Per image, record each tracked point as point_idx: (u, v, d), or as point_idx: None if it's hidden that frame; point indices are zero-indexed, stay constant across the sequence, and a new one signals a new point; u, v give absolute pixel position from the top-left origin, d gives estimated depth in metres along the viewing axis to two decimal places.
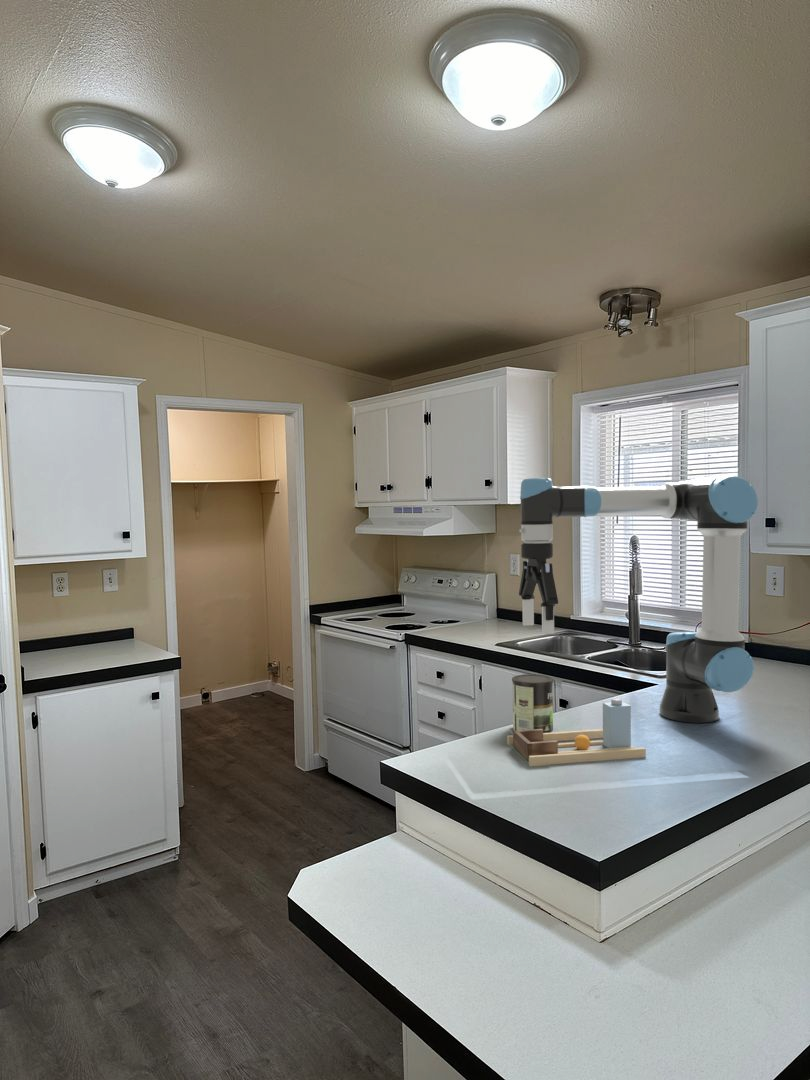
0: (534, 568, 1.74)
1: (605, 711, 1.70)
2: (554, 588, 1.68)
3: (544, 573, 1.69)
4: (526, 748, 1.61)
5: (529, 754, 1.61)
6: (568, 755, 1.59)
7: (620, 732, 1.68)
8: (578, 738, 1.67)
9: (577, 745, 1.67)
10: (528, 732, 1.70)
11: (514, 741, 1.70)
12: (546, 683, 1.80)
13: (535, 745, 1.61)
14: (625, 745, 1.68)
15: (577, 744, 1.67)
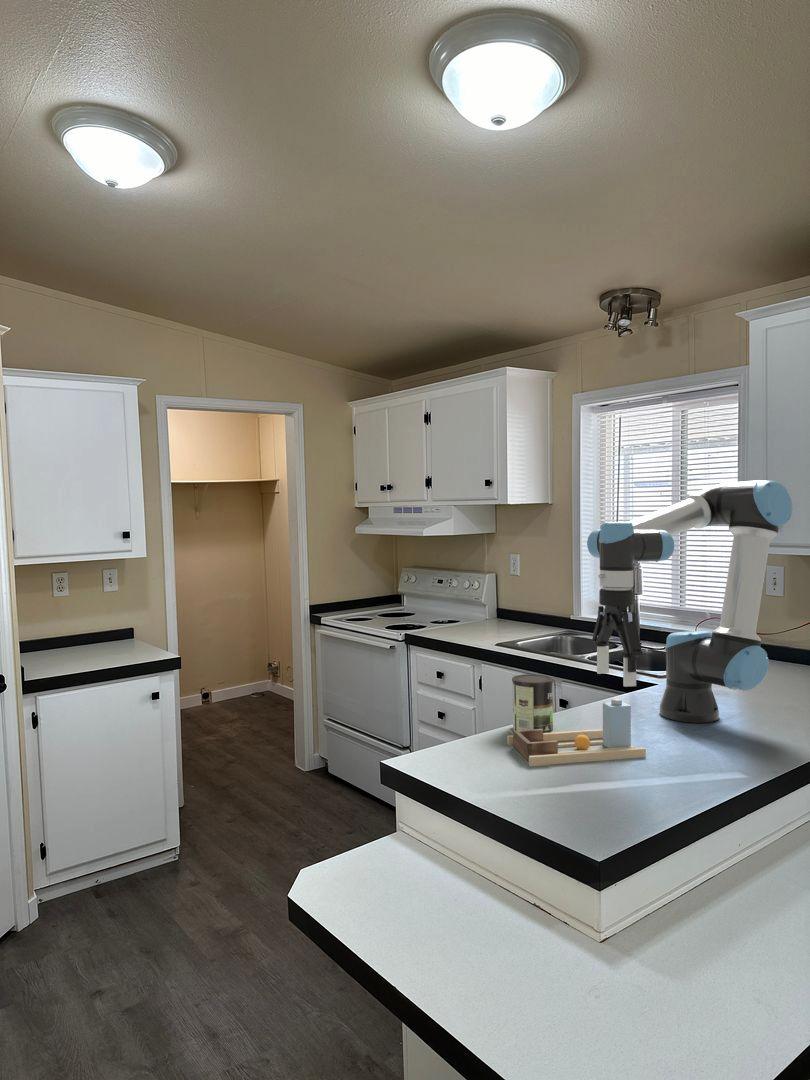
0: (614, 616, 1.66)
1: (605, 711, 1.70)
2: (638, 639, 1.60)
3: (627, 623, 1.62)
4: (526, 748, 1.61)
5: (529, 754, 1.61)
6: (568, 755, 1.59)
7: (620, 732, 1.68)
8: (578, 738, 1.67)
9: (577, 745, 1.67)
10: (528, 732, 1.70)
11: (514, 741, 1.70)
12: (546, 683, 1.80)
13: (535, 745, 1.61)
14: (625, 745, 1.68)
15: (577, 744, 1.67)
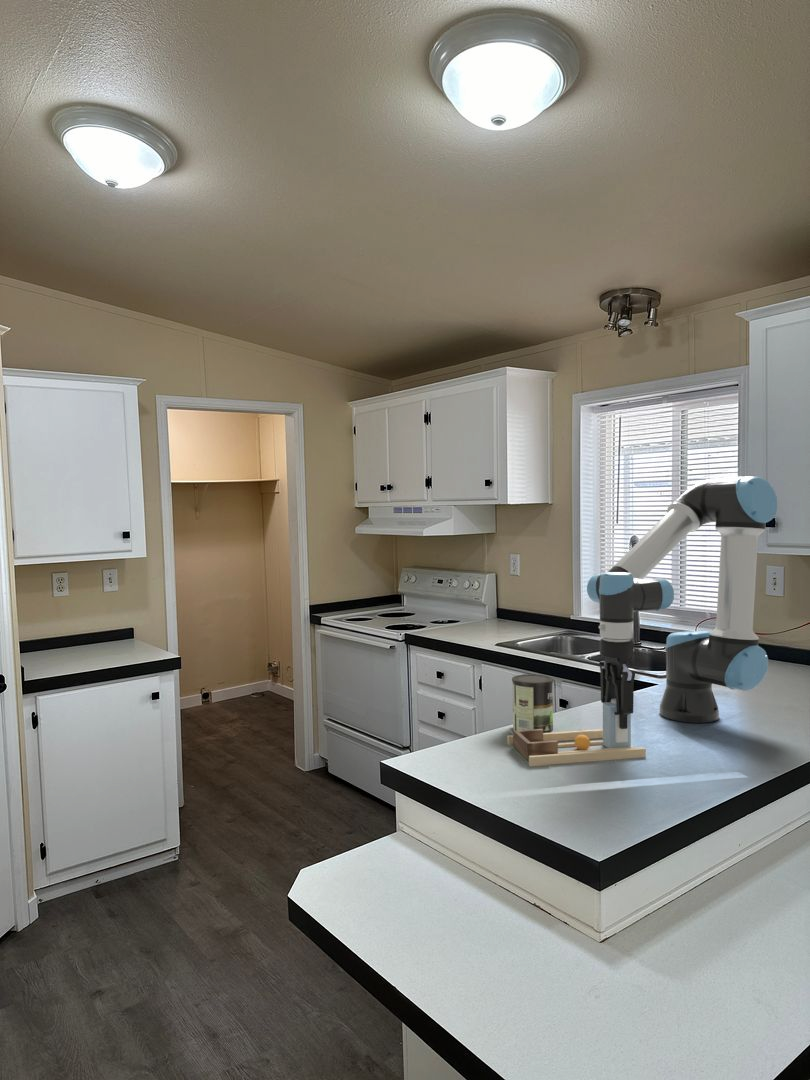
0: (614, 668, 1.67)
1: (605, 711, 1.70)
2: (632, 698, 1.64)
3: (625, 682, 1.63)
4: (526, 748, 1.61)
5: (529, 754, 1.61)
6: (568, 755, 1.59)
7: None
8: (578, 738, 1.67)
9: (577, 745, 1.67)
10: (528, 732, 1.70)
11: (514, 741, 1.70)
12: (546, 683, 1.80)
13: (535, 745, 1.61)
14: (625, 745, 1.68)
15: (577, 744, 1.67)
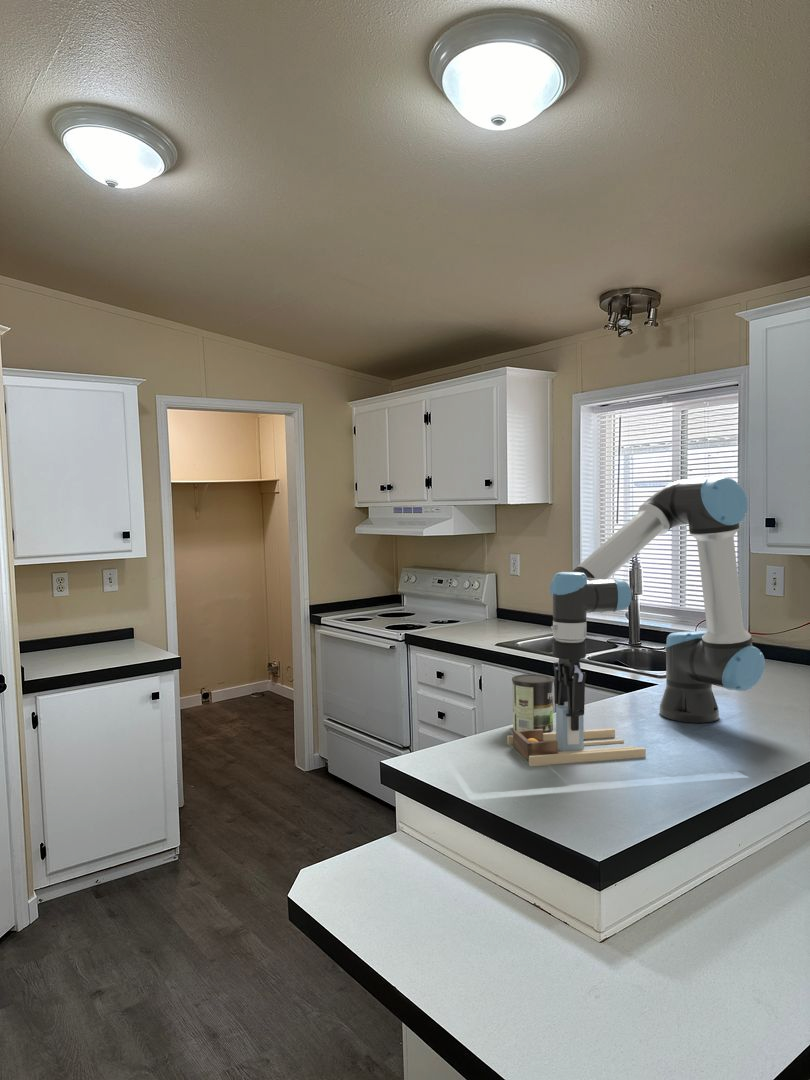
0: (566, 669, 1.65)
1: (558, 714, 1.68)
2: (583, 700, 1.62)
3: (576, 683, 1.61)
4: (526, 748, 1.61)
5: (529, 754, 1.61)
6: (568, 755, 1.59)
7: None
8: (532, 739, 1.65)
9: None
10: (528, 732, 1.70)
11: (514, 741, 1.70)
12: (546, 683, 1.80)
13: (535, 745, 1.61)
14: (578, 748, 1.66)
15: None
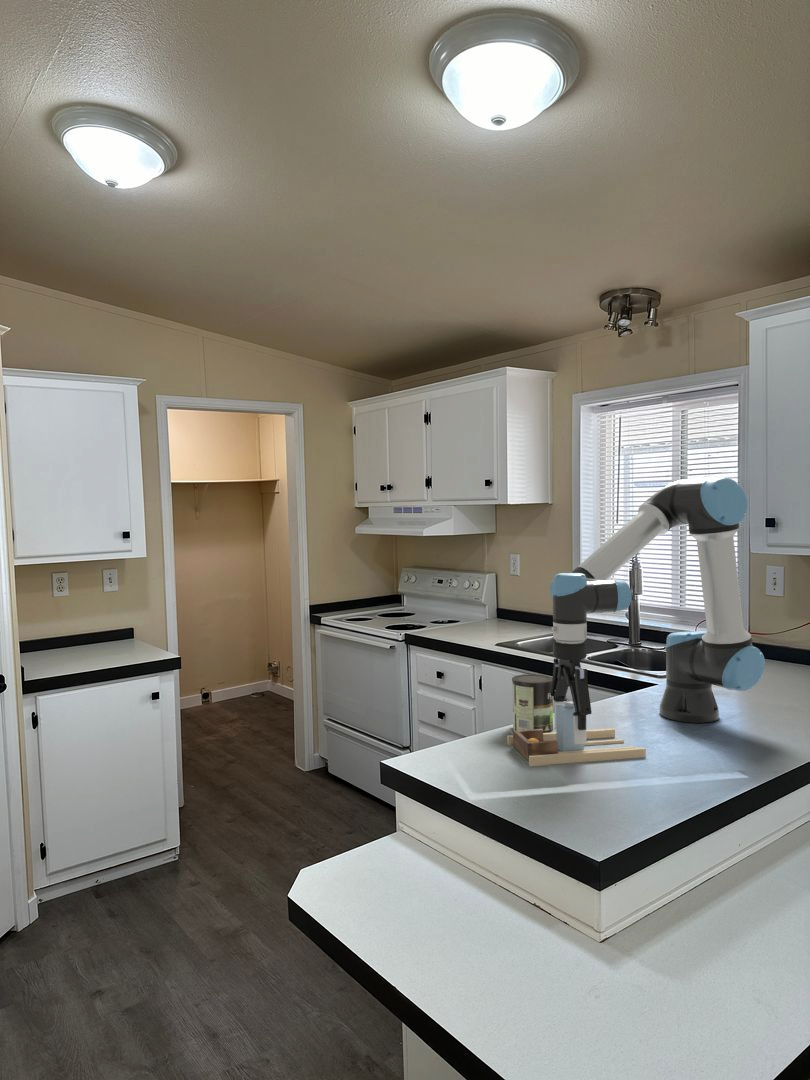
0: (567, 669, 1.65)
1: (558, 714, 1.68)
2: (588, 697, 1.59)
3: (578, 680, 1.60)
4: (526, 748, 1.61)
5: (529, 754, 1.61)
6: (568, 755, 1.59)
7: (573, 735, 1.66)
8: (534, 739, 1.65)
9: None
10: (528, 732, 1.70)
11: (514, 741, 1.70)
12: (546, 683, 1.80)
13: (535, 745, 1.61)
14: (578, 748, 1.66)
15: None
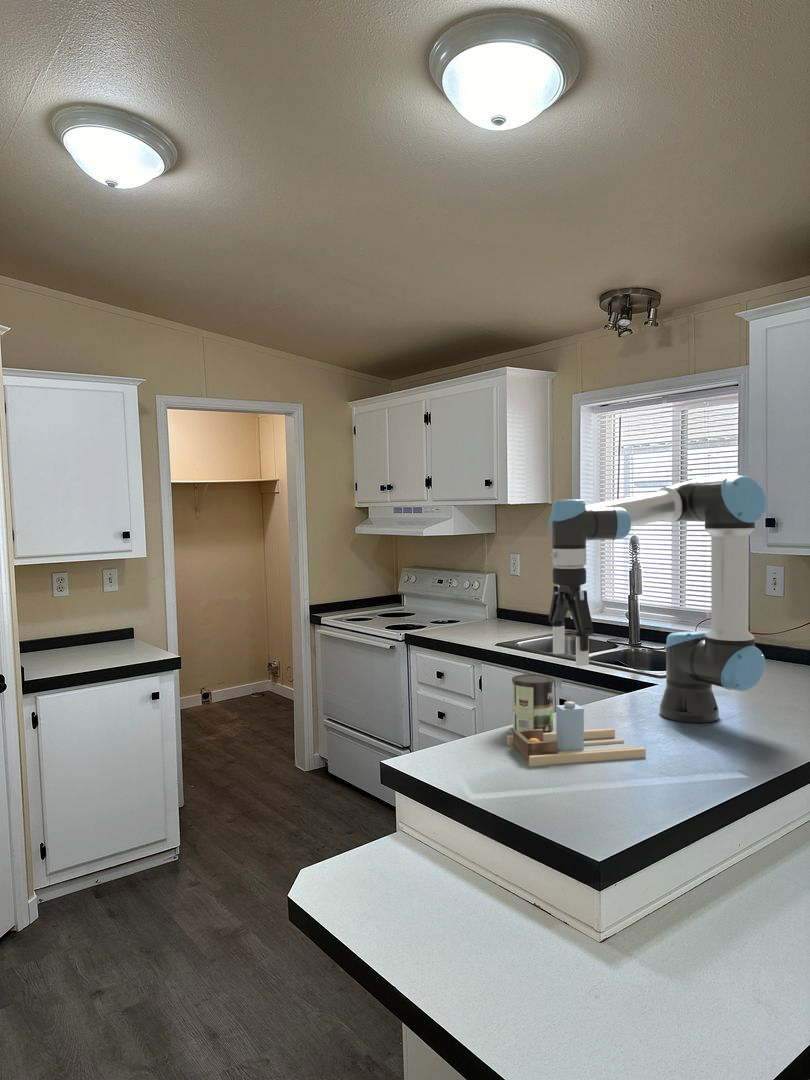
0: (567, 595, 1.64)
1: (558, 714, 1.68)
2: (589, 617, 1.58)
3: (578, 601, 1.59)
4: (526, 748, 1.61)
5: (529, 754, 1.61)
6: (568, 755, 1.59)
7: (573, 735, 1.66)
8: (536, 739, 1.66)
9: None
10: (528, 732, 1.70)
11: (514, 741, 1.70)
12: (546, 683, 1.80)
13: (535, 745, 1.61)
14: (578, 748, 1.66)
15: None
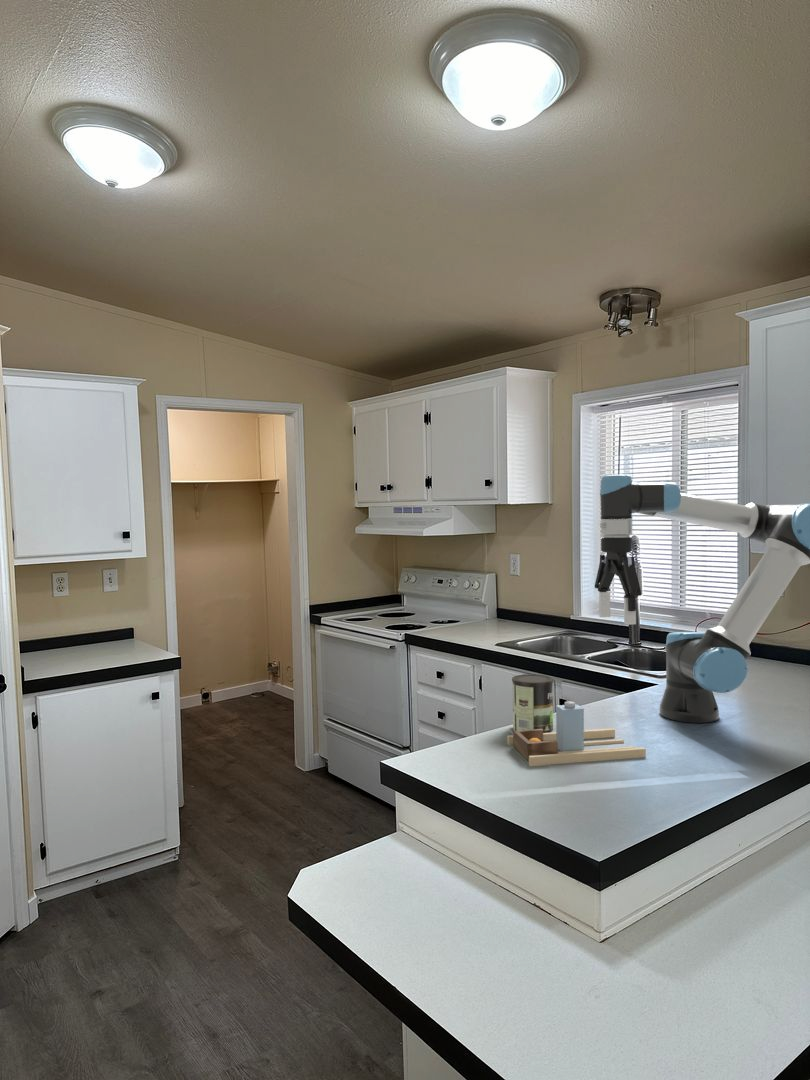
0: (615, 561, 1.81)
1: (558, 714, 1.68)
2: (637, 580, 1.75)
3: (627, 566, 1.76)
4: (526, 748, 1.61)
5: (529, 754, 1.61)
6: (568, 755, 1.59)
7: (573, 735, 1.66)
8: (538, 739, 1.66)
9: None
10: (528, 732, 1.70)
11: (514, 741, 1.70)
12: (546, 683, 1.80)
13: (535, 745, 1.61)
14: (578, 748, 1.66)
15: (532, 741, 1.65)
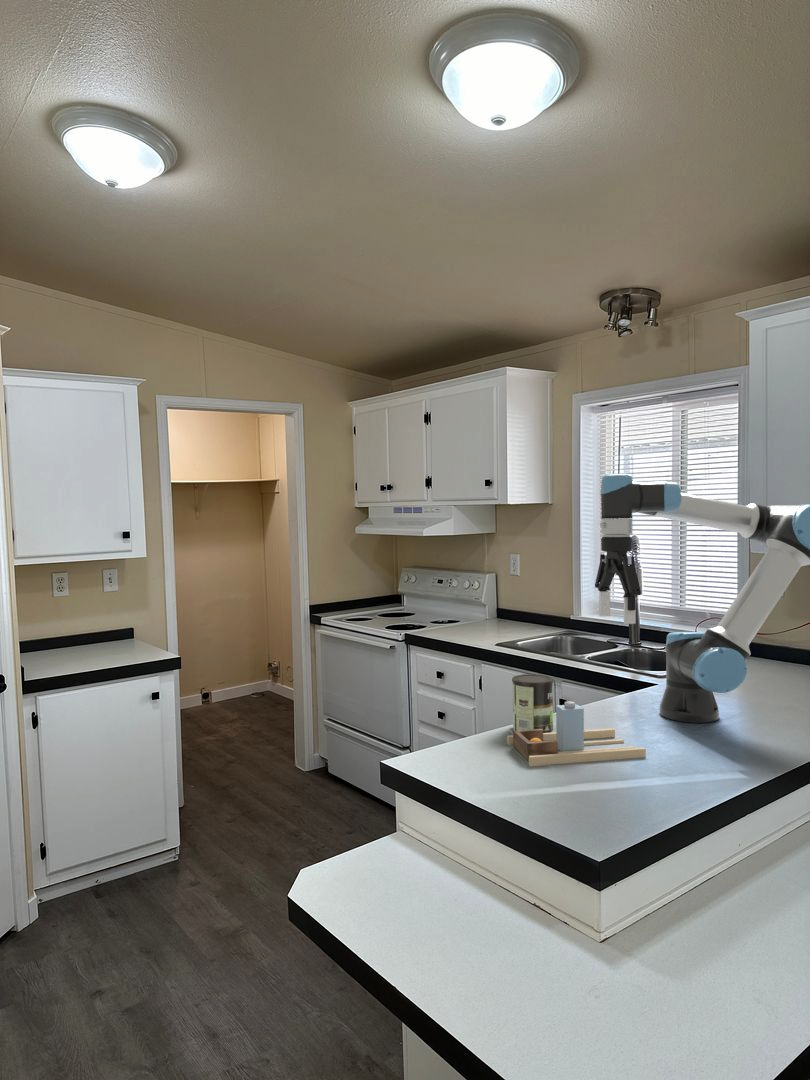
0: (615, 561, 1.81)
1: (558, 714, 1.68)
2: (636, 580, 1.75)
3: (626, 565, 1.76)
4: (526, 748, 1.61)
5: (529, 754, 1.61)
6: (568, 755, 1.59)
7: (573, 735, 1.66)
8: (539, 739, 1.66)
9: (533, 741, 1.65)
10: (528, 732, 1.70)
11: (514, 741, 1.70)
12: (546, 683, 1.80)
13: (535, 745, 1.61)
14: (578, 748, 1.66)
15: (534, 741, 1.65)
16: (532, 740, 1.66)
